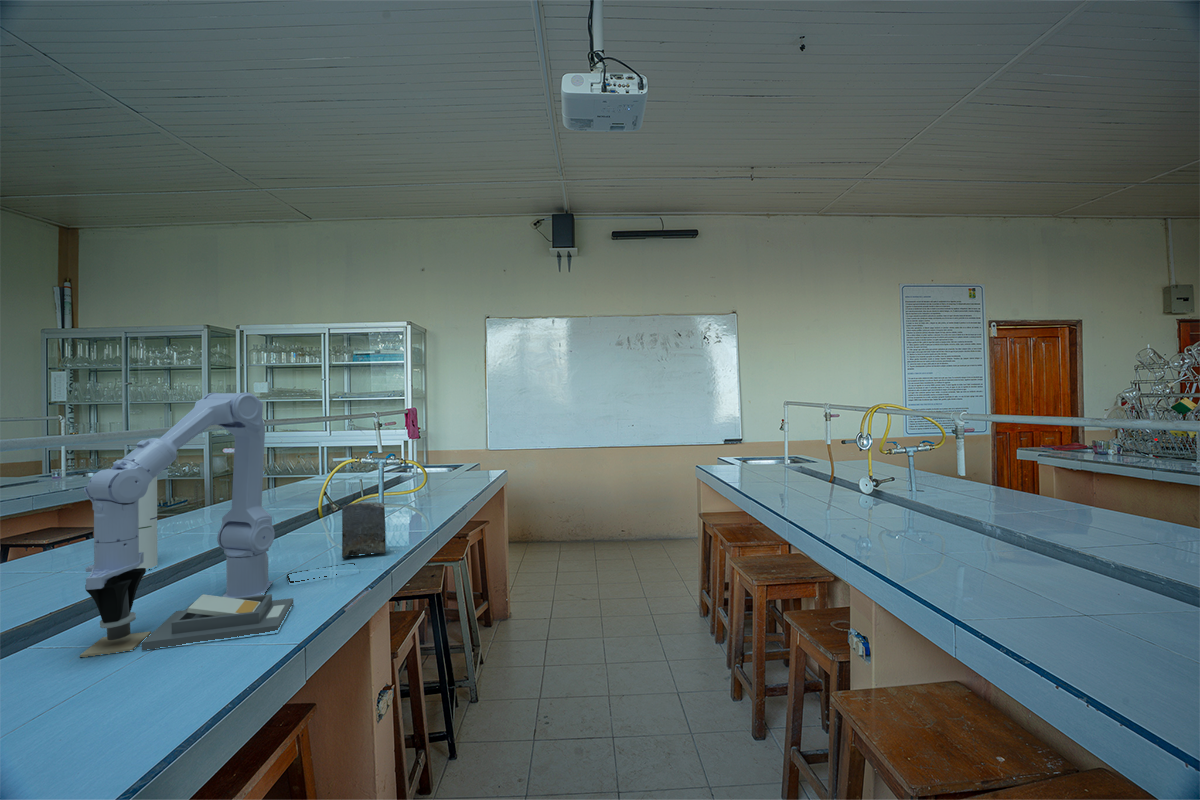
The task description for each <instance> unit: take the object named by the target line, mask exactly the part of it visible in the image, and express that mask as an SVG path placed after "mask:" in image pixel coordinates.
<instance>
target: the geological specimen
mask: <svg viewBox="0 0 1200 800" xmlns="http://www.w3.org/2000/svg"><path fill="white" fill-rule="evenodd" d="M385 510H386V509H385V503H383V502H382V501H381V502H376V501H374V502H373V501H361V502H357V503H349V504H346V505H344V506H343V505H342V506H341V521H342V522H341V523H342V525H341V527H342V529H341V532H342V533H341V534H342V535H341V538H342V541H341V557H342V558H345V557H346V556H347V555H348V556H349V555H359V554H369V555H370V554H371V553H380V554H385V553H386V551H387V550H386V546H387V545H386V543H387V542H386V514H385V513H386V511H385ZM371 555H372V554H371Z"/></svg>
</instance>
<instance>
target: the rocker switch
mask: <svg viewBox="0 0 1200 800" xmlns="http://www.w3.org/2000/svg"><path fill="white" fill-rule="evenodd" d="M193 602H194V603H193ZM193 602H192V603H193V604H192V603H191V604H192V605H191V604H190V605H191V606H190V605H189V606H190V607H189V606H188V607H189V608H188V607H187V608H188V611H187V613H196V614H204V615H212V616H221V615H230V614H238V613H247V612H255V611H256V610H257V608H258V607H259V605H260V604H261V602H258V601H250V600H243V599H235V598H227V597H222V596H219V595H218V596H217V595H210V594H201V595H200V596H199V597H198V598H197V599H196V600H195V601H193Z"/></svg>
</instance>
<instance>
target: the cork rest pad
mask: <svg viewBox="0 0 1200 800" xmlns="http://www.w3.org/2000/svg"><path fill="white" fill-rule="evenodd" d="M150 634H152V630H151V631H150V630H149V631H144V632H135V633H131V634H130V635H128V636H126V637H123V638H120V639H116V640H108V639H107V636H103V637H101V638H100V639H98V640H97V641H96V642H94V644H92V645H91V646H89V647H88V648H86V649H85V651H83V652H81V654H79V658H80V657H85V658H89V657H88V656H93V657H96V656H95V655H100V656H102V655H101V654H108V655H111V654H110V653H116V652H123V651H130V650H133V649H134V648H135V647H137V646H138V645H139V644H140V643H141V642H142V641H143V640H144V639H145V638H146V637H148V636H149V635H150ZM141 644H142V643H141ZM141 644H140V645H141ZM140 645H139V646H140ZM139 646H138V647H139ZM138 647H137V648H138ZM134 650H135V649H134ZM134 650H133V651H134ZM116 654H117V653H116Z"/></svg>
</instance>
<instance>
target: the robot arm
mask: <svg viewBox="0 0 1200 800" xmlns="http://www.w3.org/2000/svg"><path fill="white" fill-rule="evenodd" d="M263 406H264V404H263V402H262V401H261V400H260V399H259V398H258V397H257V396H256V395H255V394H253V393H251V392H236V393H235V392H228V393H227V392H216V391H215V392H210V393H207V394H205V395H204V396H203V397H202V398H201V399H199V400H196V402H195V404H194V407H193V408H192V409H191V410H190V411H189V412H188V413H187V414H185V416H183V417H182V418H181V419H180V420H179V421H178V422H177V423H176V424H174V425H173V426H172V427H171V428H170V429H169V430H167V431H166V432H165V433H164V434H163V435H162V436H161V437H159V438H157V437H153V438H152V437H151V438H147V439H142V440H140V441H138V442H137V443H136V447H135V449H133V450H131V452H129V453H128V454H127V455H125V456H123V458H121V459H117V460H116V461H114V462H113V463H112V464H113V466H112V467H111V468H106V469H101V470H99V471H97V472H95V473H94V474H93V475H92V476H91V477H90V479H89V480H88V483H87V486H85V487H83V491H84V494H85V497H87V499H88V500H90V502H91V503H92V511H93V542H94V543H93V550H94V551H93V553H94V554H93V558H94V559H93V561H94V562H93V563H94V564H91V565H89V566H86V567H85V572H86V573H90V575H89V576H87V577H86V578H85V592H87V593H88V595H89V596H91V598H92V599H93V601H94V602H95V604H96V607H97V610H98V612H99V615H100V618H101V620H102V621H103V623H108V622H117V621H119V620H120V618H121V615H122V610H123V603H124V598H125V594H126V591H127V589H128V599H129V613H130V612H132V611H131V610H132V608H133V605H134V601H135V596H136V593H137V590H138V588H139V585H140V583H141V581H142V580H143V577H144V576H145V574H146V572H147V571H146V568H137V567H139V566H140V564H142V563H143V562H144V552H140V553H139V499H140V498H142V497H143V496H144V495H145V494H146V492H147V489H148V485H149V483H150V482H151V481H152V479H153V478H155V477H156V476H157V477H158V475H159V474H160V473H162V472H163V471H164V470H165V469H166V468H168V467H169V466H170V465H172V463H173V462H175V461H176V459H177V456H178V455H177V453H178V452H177V450H179V449H181V448H182V447H183V446H184V445H186V444H188V442H190V441H191V440H192V439H194V438H195V437H197V436H198V435H199V434H201V433H202V432H204V431H205V430H206V429H208V428H209V427H210V426H215V425H216V426H220V427H222V428H224V429H225V430H226V431H227V432H229V433H230V434H231V435H232V436H233V437H234V449H233V450H234V451H233V452H234V453H233V469H232V470H233V471H232V473H233V476H232V490H231V491H232V493H231V495H232V496H231V509H230V510H228V512H227V513H225V514H224V516H222V518H221V519H222V520H221V526H220V528H219V531H217V537H216V540H217V541H216V542H217V544H218V546H219V547H220V548H221V549H222V550H223V554H224V555H225V556H226V592H225V593H223V595H222V596H221V597H227V598H240V597H249V596H258V595H263V594H264V593H265V592H266V590H267V589H268V588H269V586H270V585H271V584H272V582H273V583H274V580H269V555H268V553H267V552H268V551H269V549H270V548H271V546H272V544H273V543H274V540H275V535H276V533H275V529H274V525H273V520H272V519H273V516H272V515H271V514H270V513H269V512H268V511H266V510H265V509H264V508H263V507H262V505H263V504H262V503H263V485H264V484H263V481H264V464H265V463H264V462H265V461H264V460H265V457H264V456H265V439H266V437H265V436H266V435H265V434H266V427H265V423H264V420H263V408H264V407H263ZM272 585H273V584H272ZM272 585H271V586H272ZM271 586H270V587H271ZM269 589H270V588H269ZM269 589H268V590H269ZM268 590H267V591H268ZM261 593H263V594H261ZM266 593H267V592H266ZM266 593H265V594H266ZM265 594H264V595H265Z"/></svg>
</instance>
